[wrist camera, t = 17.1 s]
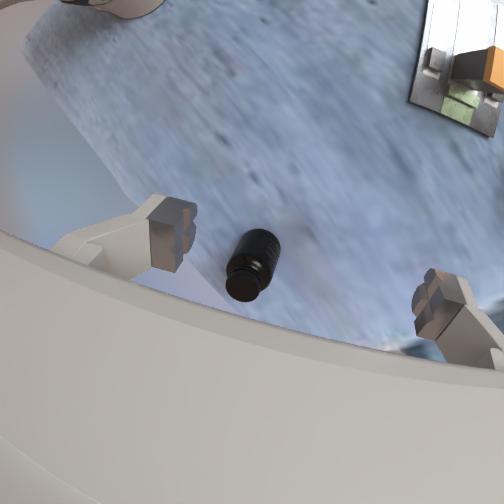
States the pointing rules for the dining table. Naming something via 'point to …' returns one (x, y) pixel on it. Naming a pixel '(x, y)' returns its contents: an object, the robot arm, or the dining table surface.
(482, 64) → the breaker handle
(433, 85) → the breaker panel
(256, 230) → the supplement bottle
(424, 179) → the dining table surface
